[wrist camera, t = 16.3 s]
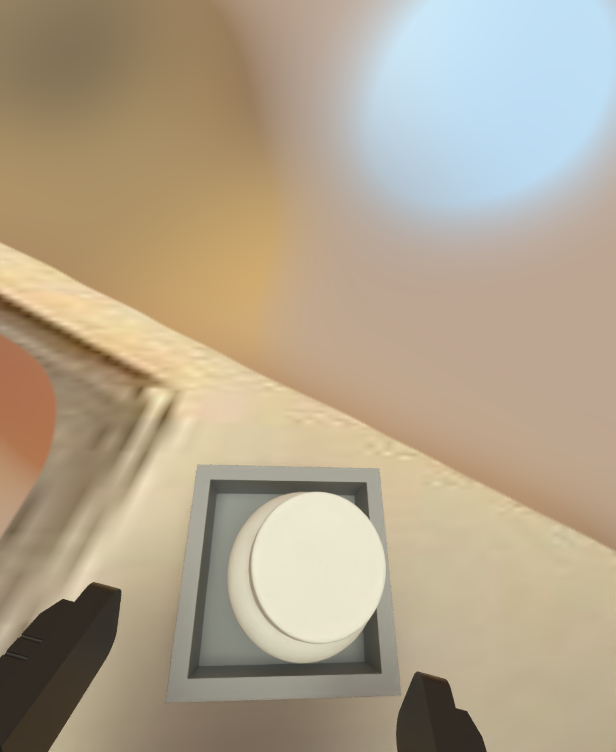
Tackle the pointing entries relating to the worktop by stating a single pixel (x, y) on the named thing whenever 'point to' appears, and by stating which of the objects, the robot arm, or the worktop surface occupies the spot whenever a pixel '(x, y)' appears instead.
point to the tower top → (215, 614)
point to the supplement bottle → (305, 575)
